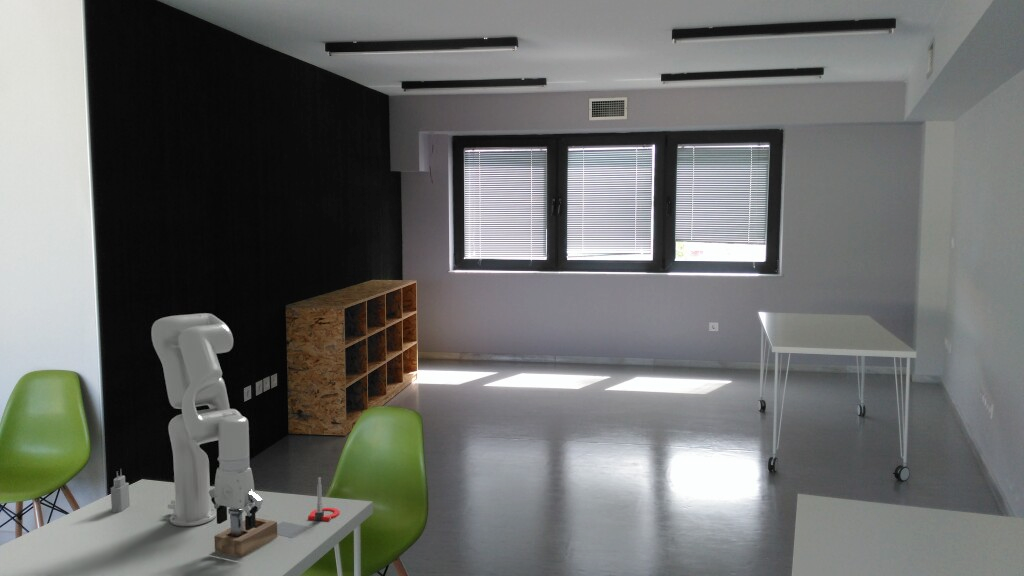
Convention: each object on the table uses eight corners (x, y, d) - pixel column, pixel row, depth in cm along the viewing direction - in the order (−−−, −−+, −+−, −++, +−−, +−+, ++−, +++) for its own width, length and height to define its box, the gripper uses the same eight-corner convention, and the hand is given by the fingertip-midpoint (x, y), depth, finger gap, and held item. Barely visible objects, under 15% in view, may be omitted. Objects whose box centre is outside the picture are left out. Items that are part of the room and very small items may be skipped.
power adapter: (110, 511, 234) (108, 473, 233) (121, 505, 240) (119, 467, 238) (120, 512, 234) (118, 473, 233) (130, 505, 239) (128, 467, 238)
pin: (226, 549, 207) (225, 510, 206) (237, 544, 211) (235, 505, 210) (238, 552, 206) (236, 512, 205) (248, 546, 209) (246, 507, 208)
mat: (264, 532, 219) (264, 531, 219) (282, 522, 227) (282, 521, 227) (292, 538, 215) (292, 537, 215) (311, 528, 223) (311, 527, 223)
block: (214, 552, 207) (214, 535, 206) (251, 532, 220) (251, 516, 219) (241, 558, 203) (241, 541, 203) (277, 537, 216) (276, 521, 216)
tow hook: (317, 510, 237) (304, 521, 228) (317, 468, 236) (304, 477, 227) (343, 512, 236) (332, 523, 227) (343, 470, 235) (332, 479, 226)
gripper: (198, 462, 206) (200, 524, 208) (250, 472, 199) (252, 536, 201) (219, 454, 213) (221, 514, 215) (270, 463, 206) (271, 525, 208)
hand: (236, 525), depth 208 cm, fingers open, 9 cm apart
